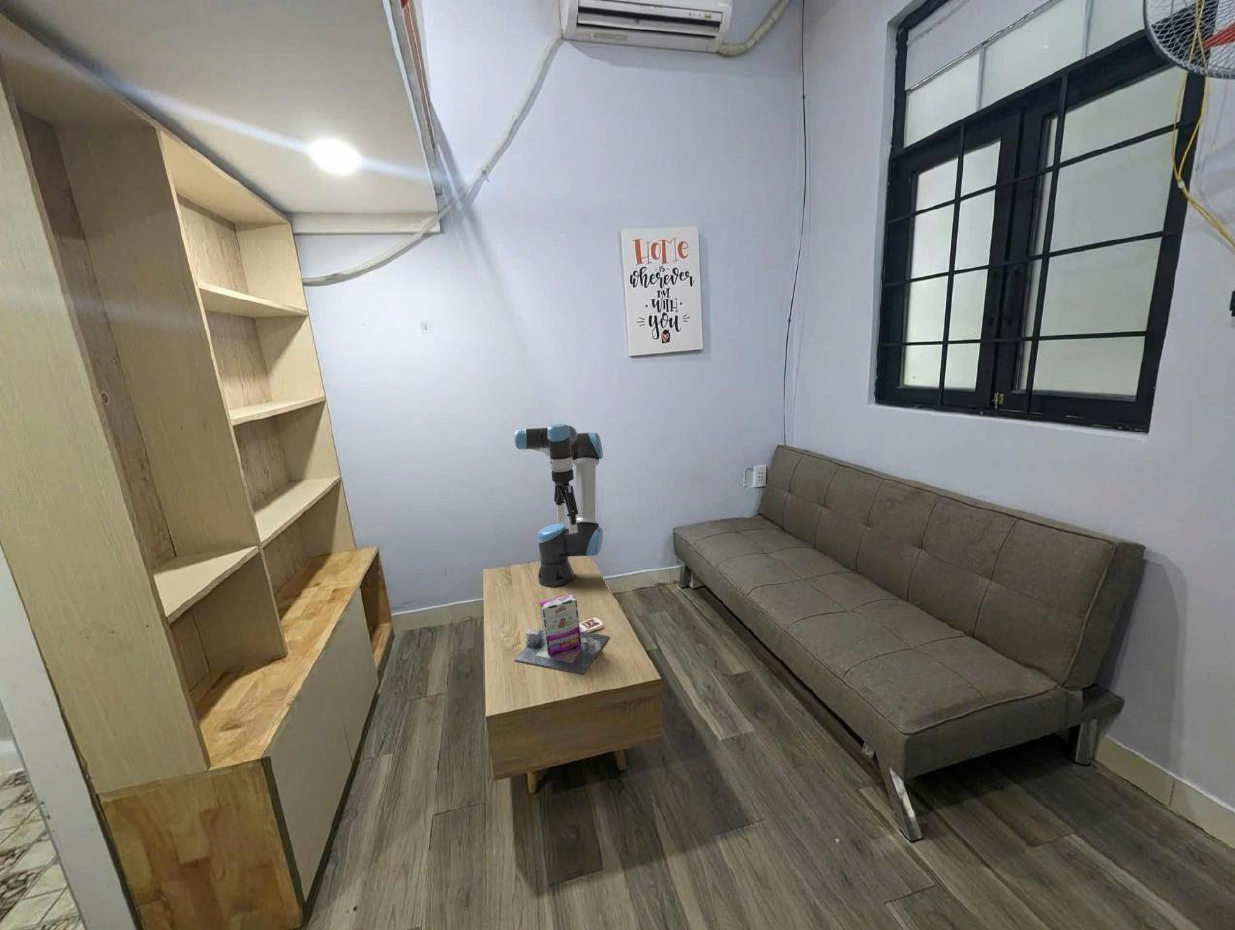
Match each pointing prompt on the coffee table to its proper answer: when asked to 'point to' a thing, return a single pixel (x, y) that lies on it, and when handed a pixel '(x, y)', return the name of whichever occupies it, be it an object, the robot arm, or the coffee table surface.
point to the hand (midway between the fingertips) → (567, 527)
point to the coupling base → (562, 652)
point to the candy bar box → (560, 624)
